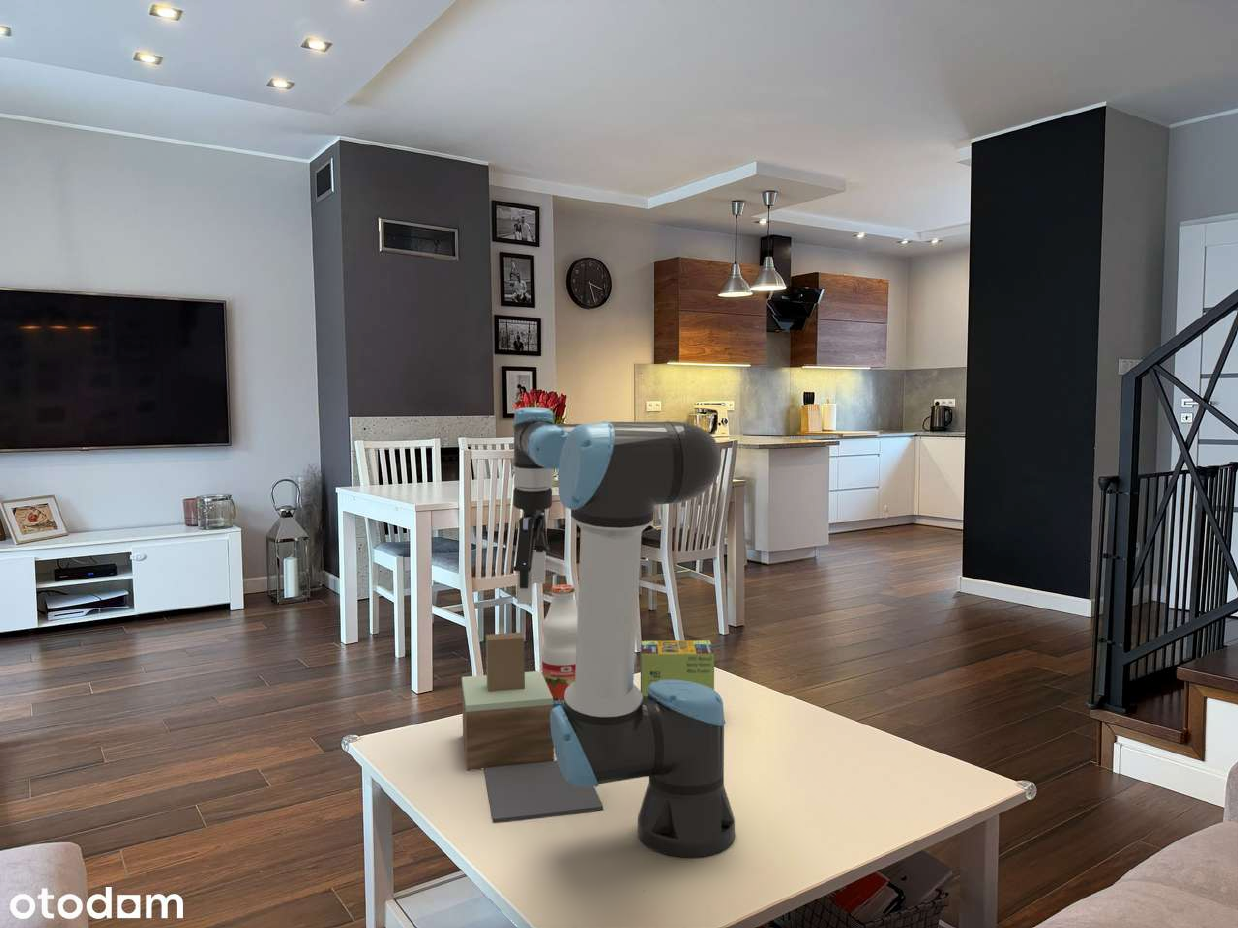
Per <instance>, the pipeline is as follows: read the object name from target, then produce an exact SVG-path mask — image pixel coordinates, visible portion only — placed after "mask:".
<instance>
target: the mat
mask: <svg viewBox="0 0 1238 928" xmlns="http://www.w3.org/2000/svg"><path fill="white" fill-rule="evenodd" d="M483 770H484V777H485V783H486V788H487V793H488V799H489V806H490V811H491V812H490V813H491V818H492V823H503V822H504V823H505V822H510V821H518V820H519V821H520V820H529V819H537V818H544V817H545V818H546V817H554V816H563V815H572V814H578V813H579V814H580V813H581V814H582V813H588V812H598V811H604V805H603V803H602V800H601V799H600V796H599V794H598V791H597V790H596V786H594V785H591V786H581V787H574V786H572V785H570V784H569V783H568V782H567V781H566V780H565V778H564V777H563V775H562V773H561V770H560V767H559V765H558V761H557V760H554V761H548V762H538V763H528V764H518V765H508V766H499V767H489V768H484V769H483Z"/></svg>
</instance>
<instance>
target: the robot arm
mask: <svg viewBox="0 0 1238 928" xmlns="http://www.w3.org/2000/svg"><path fill="white" fill-rule="evenodd" d="M514 411H515V412H514V416H513V417H514V419H513V424H512V429H513V469H511V470H510V474H511V475H513V485H514V489H513V496H512V500H513V505H512V506H513V507H514V508H515V509H518V510H523V517H520V518H519V520H518V523H519V524H518V525H519V526H518V537H517V544H516V545H517V546H516V555H515V556H516V558H515V564H514V566H513V567H512V570H513V572H517V593H516V595H517V597H516V598H517V602H516V603H517V604H519V605H533V584H545V583H546V555H547V553H546V552H549V551H550V545H548V544H549V541H548V533H547V520H546V510H548V509H551V508H552V507H553V489H552V488H551V487H552V486H553V478H554V476H553V475H554V473H553V472H554V471H553V470H555V469H556V470H558V471H557V482H558V488H557V489H558V495H559V499H560V502H561V504H562V506H563V507H565V508H566V509H569V510H570V518H571V520H572V521H573V523H575V524H577V526H578V527H579V529H580V546H579V547H580V549H579V569H578V570H579V574H578V576H579V577H578V595H577V596H578V597H577V599H578V600H577V601H578V602H577V609H578V619H577V644H576V670H575V681H574V682H573V683H572V684H570V685H569V686H568V687H567V688H566V690H565V693H564V706H557V707H555V708H553V709H552V711H551V714H550V727H551V735H552V741H553V746H554V755H555V757H556V761H558V765H559V767H560V770H561V773H562V775H563V777H564V778H565V780H566V781H567V782H568V783H569V784H570V785H572V786H574V787H581V786H591V785H594V787H598V786H599V785H604V784H605V785H606V784H610V783H616V782H623V781H629V780H635V779H640V778H647V777H648V785H647V787H646V791H645V793H644V797H643V800H642V803H641V807H640V809H639V812H638V816H637V834H638V837H639V839H640V841H641V843H643V844H644V845H645V846H647V847H648V848H649V849H651V850H653V851H656V852H659V853H660V854H664V855H668V856H672V857H680V858H699V857H706V856H711V855H714V854H718V853H720V852H722V851H724V850H726V849H727V848H729V847H730V846H731V845H732V844H733V842H734V840H735V838H736V819H735V818H736V817H735V816H734V812H733V809H732V806H731V803H730V800H729V796H728V794H727V790H726V788H725V785H724V784H725V780H724V779H725V776H724V775H725V774H724V772H725V768H724V767H725V724H726V720H725V711H724V701H723V699H722V697H721V695H720V694H719V693H718V692H717V691H716V690H715V689H714V690H713V689H711V688H709V687H707V686H704V685H701V684H698V683H694V682H689V681H683V680H658V681H655V682H652V683H651V684H650V685H649V687H648V689H647V693H648V695H647V696H642V693H641V689H639V688H638V686H636V685H635V683H634V678H635V661H636V660H635V659H636V645H637V644H636V641H637V627H638V626H637V624H638V623H637V622H638V621H637V620H638V608H639V607H638V605H639V591H640V590H639V589H640V588H639V587H640V569H641V568H640V567H641V554H642V552H641V551H642V547H641V546H642V536H643V535H642V532H643V531H644V530H645V529H646V528H648V527H649V526H650V525H651V524H652V523H653V522H654V512H655V511H654V510H655V506H656V505H669V504H680V503H684V502H685V503H686V502H687V501H690V500H693V499H695V498H698V497H699V496H701V495H702V494H704V493H705V492H707V490H708V489H710V488H711V486H712V485H714V483H715V481H716V480H717V478H718V477H719V473H720V469H721V466H722V456H721V450H720V448H719V447H720V446H719V445H718V444H717V441H716V439H715V438H714V437H713V435H712V434H711V433H709V432H708V431H706V429H704V428H702V427H700V426H698V425H696V424H692V423H690V422H689V423H688V422H682V421H667V420H666V421H607V420H604V421H600V422H590V423H555V421H554V413H553V410H551V409H550V408H546V407H520V408H517V409H516V410H514Z"/></svg>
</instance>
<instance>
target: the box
mask: <svg viewBox="0 0 1238 928" xmlns="http://www.w3.org/2000/svg"><path fill="white" fill-rule="evenodd" d="M461 694H462V695H461V696H462V697H461V698H462V707H461V708H462V735H463V736H462V738H463V747H464V755H465V761H466V762H465V763H466V771H467V770H468V771H472V770H471V769H478V770H482V769H481V768H489V767H499V766H508V765H518V764H528V763H538V762H548V761H555V750H554V746H553V741H552V735H551V727H550V714H551V711H552V709H553V704H552V705H540V706H528V707H517V708H505V709H493V710H482V711H470V712H466V706H465V700H464V693H463V686H462V685H461Z"/></svg>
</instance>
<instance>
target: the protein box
mask: <svg viewBox="0 0 1238 928" xmlns="http://www.w3.org/2000/svg"><path fill="white" fill-rule="evenodd" d="M658 680H683V681H689V682H694V683H698V684H701V685H704V686H707V687H709V688H711V689H713V690H714V691H715V652H714V649H713V646H712V643H711V640H708V639H707V640H706V639H702V640H700V639H699V640H688V639H687V640H685V639H684V640H681V639H679V640H672V639H671V640H641V641H640V691H641V693H642V696H647V695H648V693H647V689H648V687H649V685H650V684H651V683H652V682H655V681H658Z"/></svg>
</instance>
